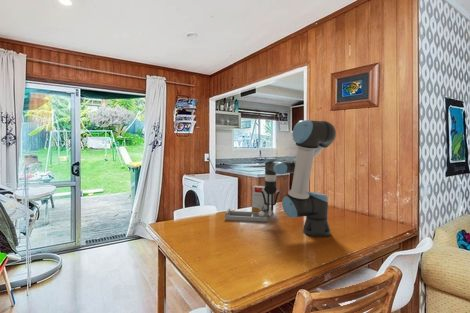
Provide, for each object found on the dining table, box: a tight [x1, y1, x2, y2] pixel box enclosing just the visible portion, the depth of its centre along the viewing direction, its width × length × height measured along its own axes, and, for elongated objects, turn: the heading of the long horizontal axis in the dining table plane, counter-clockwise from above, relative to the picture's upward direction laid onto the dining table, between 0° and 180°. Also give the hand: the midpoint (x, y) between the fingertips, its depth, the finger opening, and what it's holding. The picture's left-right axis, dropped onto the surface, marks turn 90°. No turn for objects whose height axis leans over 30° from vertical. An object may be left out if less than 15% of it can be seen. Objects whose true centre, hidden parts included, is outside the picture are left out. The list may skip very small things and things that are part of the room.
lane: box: [224, 207, 269, 223], centre depth 177 cm, size 28×14×5 cm, turn 81°
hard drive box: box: [251, 185, 275, 216], centre depth 192 cm, size 16×8×20 cm, turn 73°
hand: (270, 215), depth 175 cm, fingers closed
